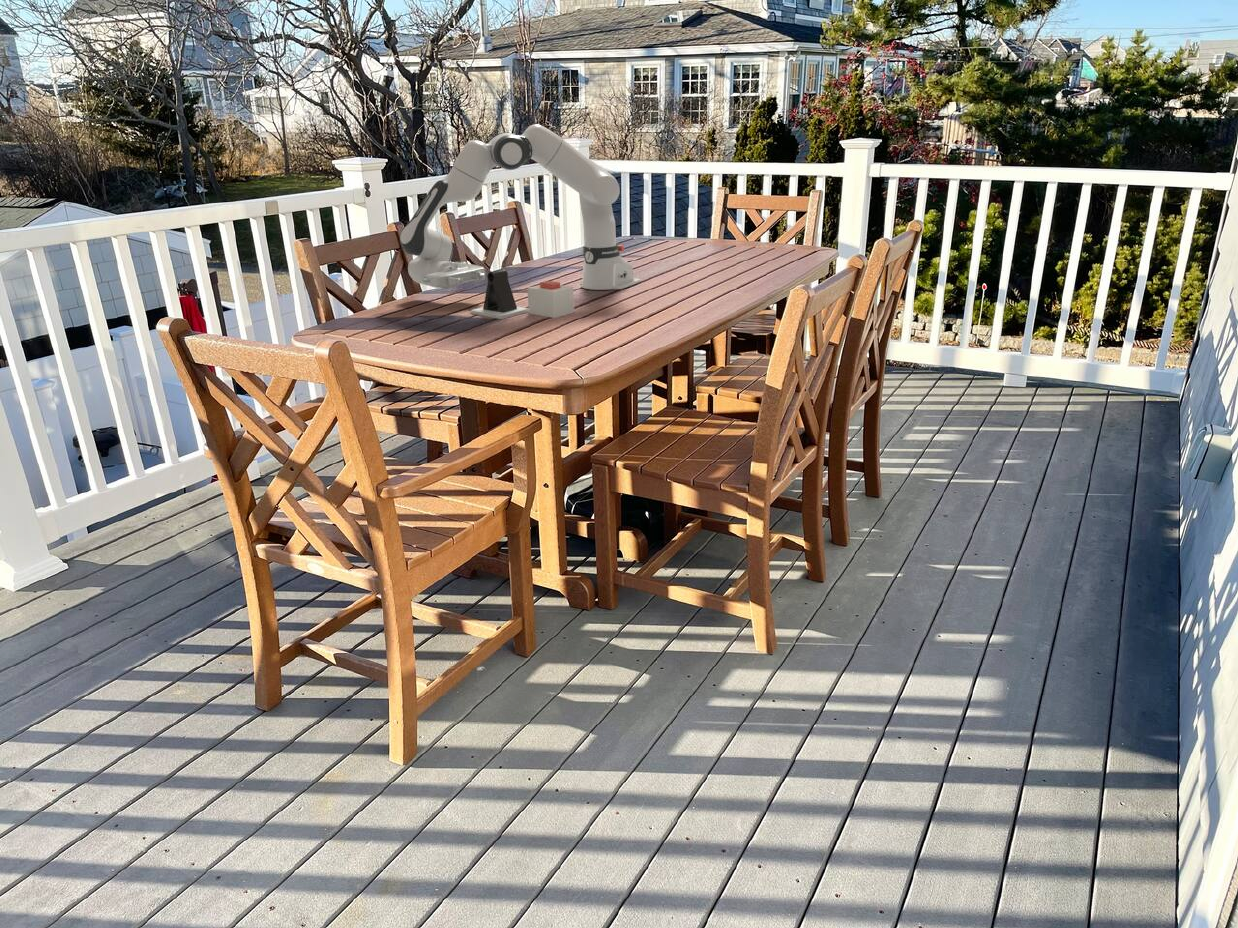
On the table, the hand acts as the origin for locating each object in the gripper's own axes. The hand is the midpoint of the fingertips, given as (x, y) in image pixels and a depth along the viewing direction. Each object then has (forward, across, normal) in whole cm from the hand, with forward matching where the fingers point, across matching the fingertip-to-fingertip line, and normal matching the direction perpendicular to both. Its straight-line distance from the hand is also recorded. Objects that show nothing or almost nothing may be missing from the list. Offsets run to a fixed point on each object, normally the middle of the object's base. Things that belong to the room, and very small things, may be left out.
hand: (472, 279), depth 287 cm
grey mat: (+12, 0, +9) cm, 15 cm away
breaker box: (+26, +9, +9) cm, 29 cm away
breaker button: (+26, +9, +3) cm, 28 cm away
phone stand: (+12, 0, +8) cm, 15 cm away
